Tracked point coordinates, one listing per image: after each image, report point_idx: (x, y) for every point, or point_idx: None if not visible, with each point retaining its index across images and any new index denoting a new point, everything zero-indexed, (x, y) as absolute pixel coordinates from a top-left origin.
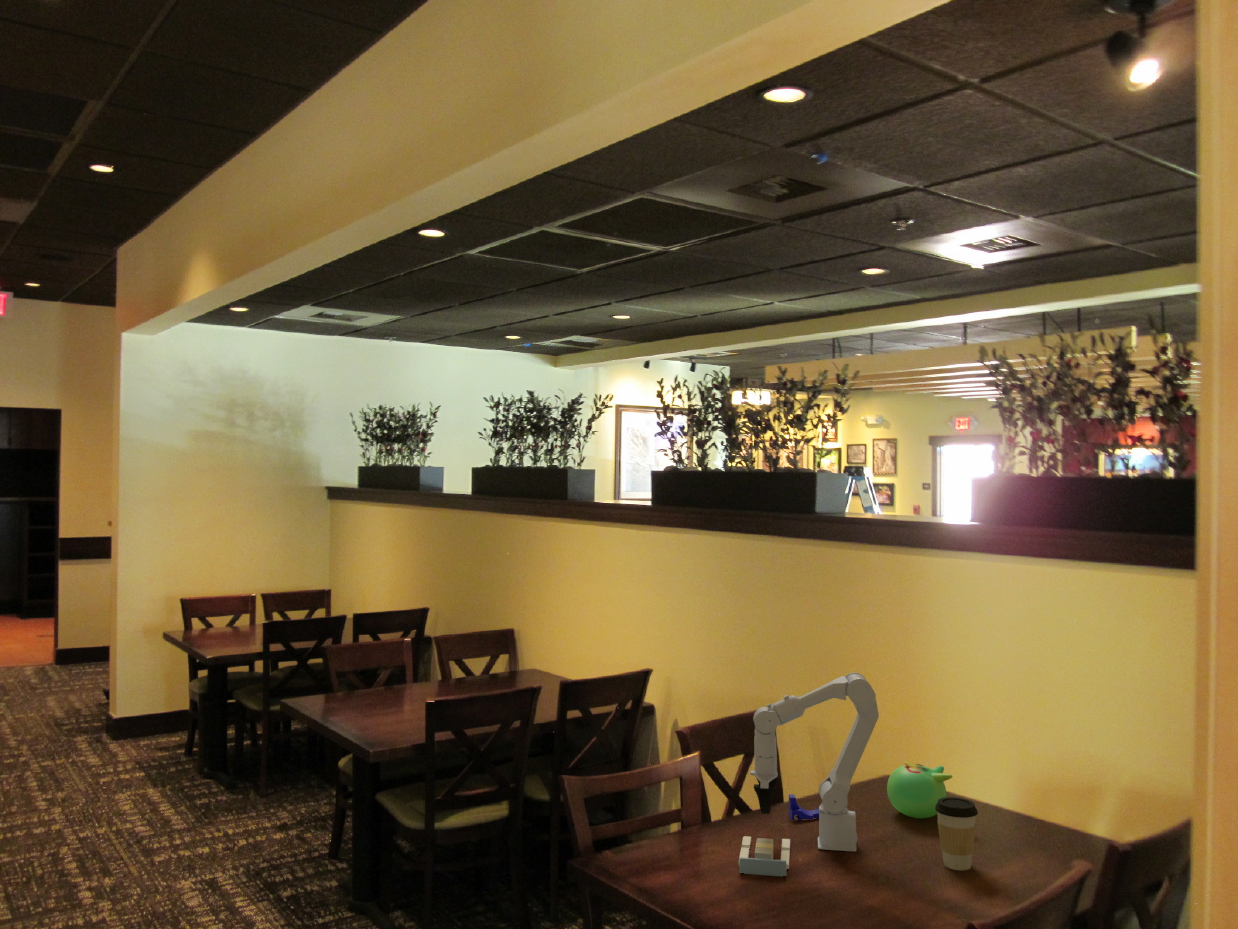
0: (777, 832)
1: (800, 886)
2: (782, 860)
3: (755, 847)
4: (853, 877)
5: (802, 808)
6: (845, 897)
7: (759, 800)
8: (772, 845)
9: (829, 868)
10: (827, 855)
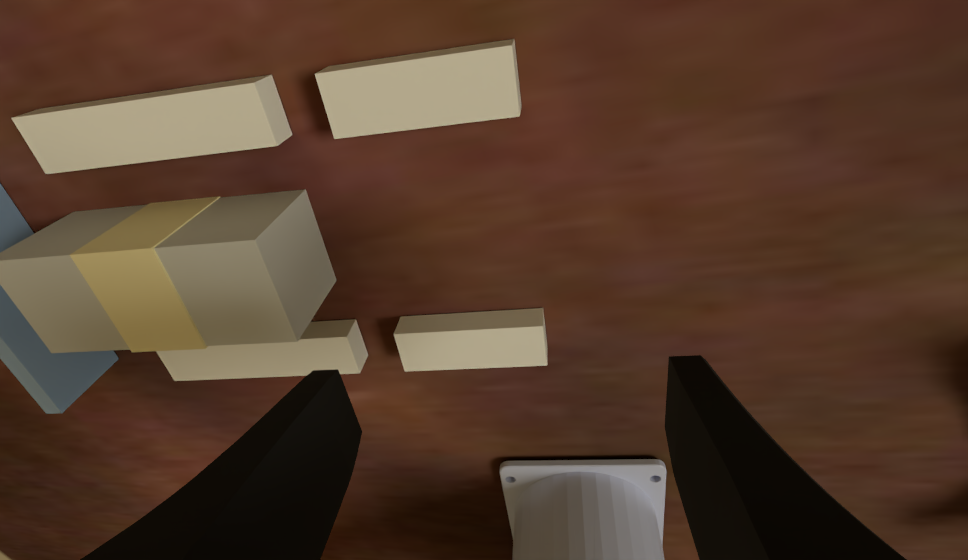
0: (760, 260)
1: None
2: (43, 399)
3: (70, 255)
4: None
5: None
6: (93, 519)
7: (183, 497)
8: (175, 349)
9: None
10: (448, 484)
